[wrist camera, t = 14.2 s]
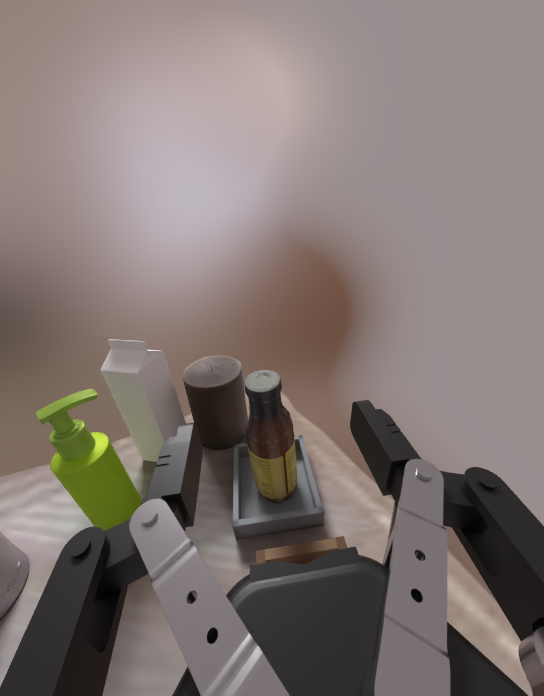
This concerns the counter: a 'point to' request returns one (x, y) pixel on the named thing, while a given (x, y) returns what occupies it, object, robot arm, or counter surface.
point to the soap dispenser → (89, 465)
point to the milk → (143, 394)
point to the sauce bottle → (270, 438)
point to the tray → (265, 516)
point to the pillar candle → (217, 400)
